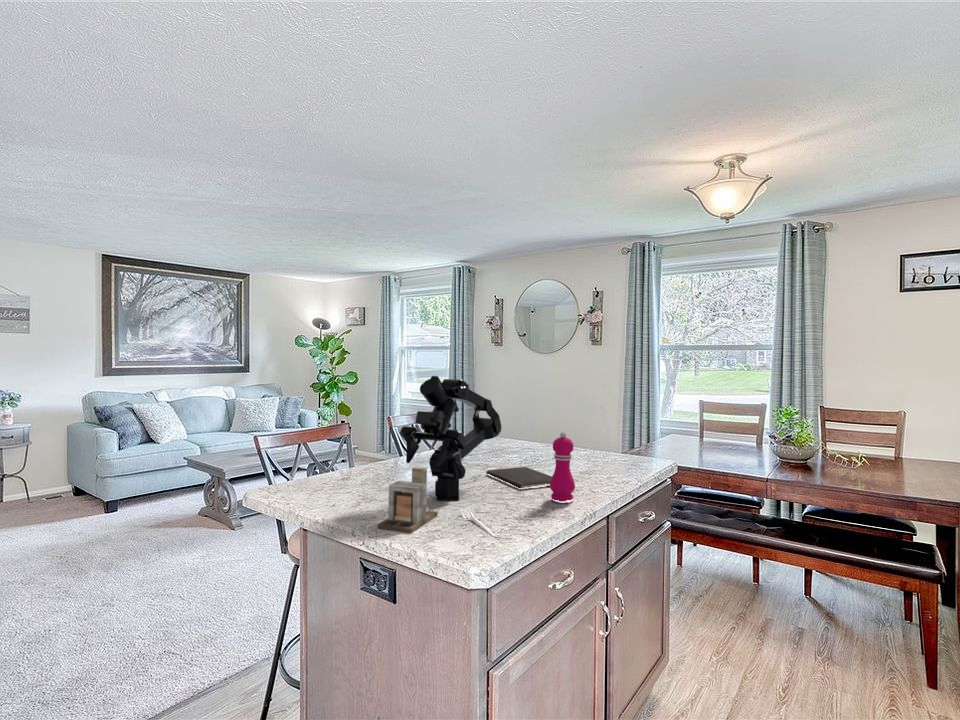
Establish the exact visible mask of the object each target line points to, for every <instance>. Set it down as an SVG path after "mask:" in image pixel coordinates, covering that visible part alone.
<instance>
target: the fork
mask: <svg viewBox="0 0 960 720" xmlns="http://www.w3.org/2000/svg"><path fill="white" fill-rule="evenodd" d="M459 509H460V510H459V511H460V514H461V517H462V518H463V519H464V518H470V517H472V518H470V519H467V520H466V521H468V520H470V521H472V522H473V523H475V525H477V526H478V525H479V526H480V527H481V529H482V528H483V529H484V530H483V529H482V530H483V531H485V530H486V531H487V532H486V531H485V532H486V533H488V532H489V533H490V534H491V535H490V534H489V533H488V534H489V535H490V536H492V535H493V536H495V535H496V534H494V533H493V532H492V531H491V530H490V529H489V528H488V527H486V525H484V524H483V523H482V522H481V521H480V520H478V518H477V517H476V516H475V515H474V514H473V512H472V510H471V509H470V507H467V508H466V507H465V508H464V507H463V508H461V507H460V508H459ZM473 517H476V518H473ZM470 521H469V522H470ZM479 526H478V527H479ZM480 527H479V528H480ZM493 536H492V537H493Z"/></svg>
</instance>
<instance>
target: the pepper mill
mask: <svg viewBox="0 0 960 720" xmlns="http://www.w3.org/2000/svg"><path fill="white" fill-rule="evenodd" d="M552 450H553V452H554V454H553V456H554V457H553V459H555V468H554V472H553V474H552V478H551V481H550V487H549V488H550V490H551V492H552V493H551V496H550V497H551V498H552V499H554V500H559V501H566V500H571V499H573V500H574V495H573V494H572V493H573V492H574V491H575V488H576V485H575V484H576V483H575V480H574V477H573V474H572V472H571V465H570V463H571V460H572V454H571V453H572V452H573V451H574V442H573V440H571V439H570V438H568V437H567V433H566V432H565V431H561V432H560V434H559V437H557V438H556V439H554V440H553V441H552Z"/></svg>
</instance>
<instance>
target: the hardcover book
mask: <svg viewBox="0 0 960 720" xmlns="http://www.w3.org/2000/svg"><path fill="white" fill-rule="evenodd" d="M487 474H490V475H492V476H494V477H497V478H499V479H501V480H503V481H505V482H508V483H510V484H512V485H514V486H516V487H518V488H524V487H531V486H538V485H545V484H550V481H551V478H552V476H553V475H552V476H551V475H549V474H546V473H544V472H540V471H538V470H535V469H532V468H530V467H527V466H519V467H518V466H517V467H509V468H497V469H488V470H487V471H486V475H487Z"/></svg>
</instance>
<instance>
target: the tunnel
mask: <svg viewBox="0 0 960 720" xmlns="http://www.w3.org/2000/svg"><path fill="white" fill-rule="evenodd" d="M427 487H428V485H427V484H424V483H415V482H412V481H404V480H398V481H395V482H393V483H390V484H389V485H388V508H387V509H388V513H387V515H388V516H387V517H388V518H386V519H383V520H382V521H380V522H378V523H377V527H376V528H377V529H381V530H386V531H387V530H388V531H393V530H394V532H401V533H407V534H409V533H410V534H412V533H414V532H415V531H417V530H418V529H420V528H421V527H423V526H424V525H426V524H427V523H429V522H431V521H432V520H434V519H435V518H437V517H438V514H439V513H438V511H433V510H429V511H428V512H426V507H427V489H428V488H427ZM403 492H410V493H413V520H412V521H411V522H407V521H400V520H394V516H396V501H397V495H399V494H401V493H403Z"/></svg>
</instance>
